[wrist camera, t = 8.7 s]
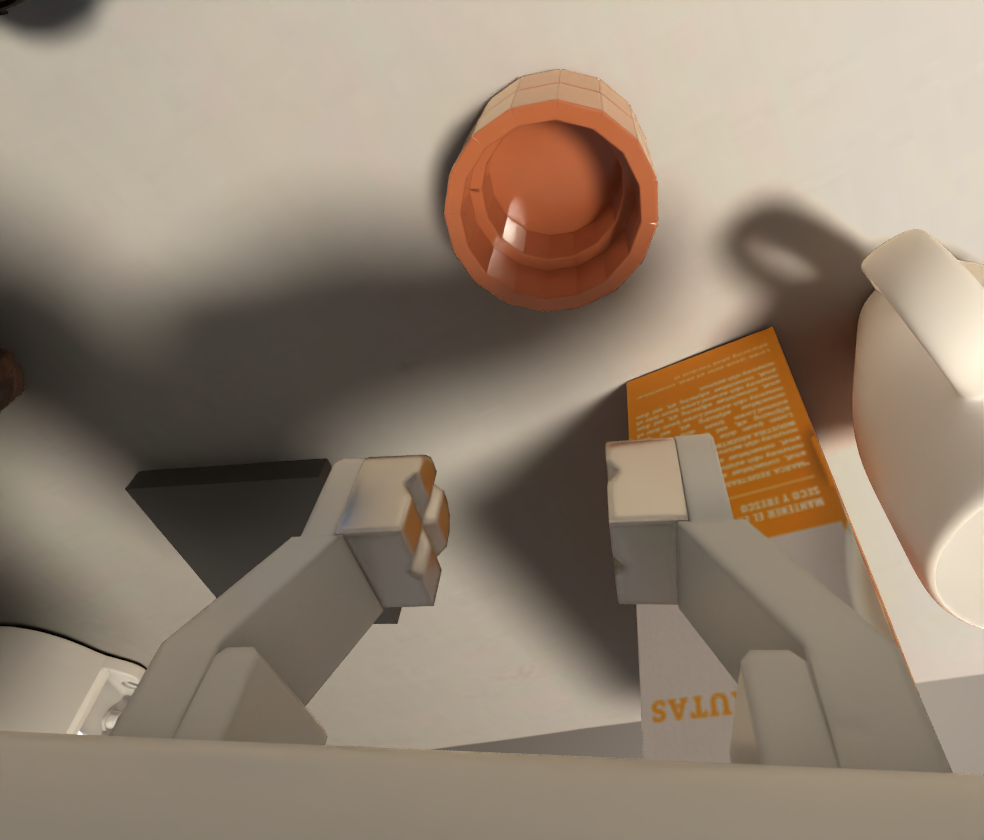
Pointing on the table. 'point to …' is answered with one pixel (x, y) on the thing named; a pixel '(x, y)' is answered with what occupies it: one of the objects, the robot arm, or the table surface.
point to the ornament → (8, 5)
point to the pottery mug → (9, 378)
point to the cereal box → (753, 496)
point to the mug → (926, 411)
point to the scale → (233, 514)
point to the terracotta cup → (553, 193)
